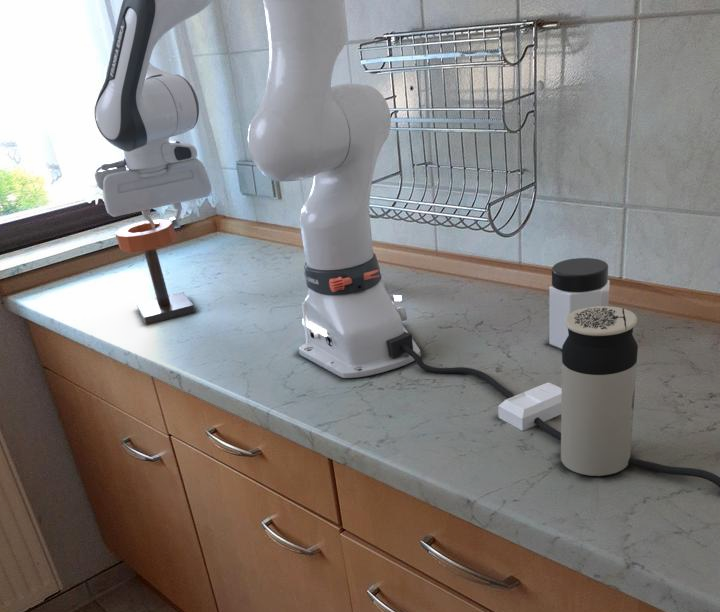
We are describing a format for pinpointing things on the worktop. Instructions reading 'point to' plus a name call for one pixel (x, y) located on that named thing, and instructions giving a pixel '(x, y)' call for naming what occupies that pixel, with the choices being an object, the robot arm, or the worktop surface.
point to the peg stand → (162, 296)
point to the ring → (145, 236)
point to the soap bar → (532, 406)
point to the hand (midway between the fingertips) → (167, 229)
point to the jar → (575, 292)
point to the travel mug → (598, 390)
